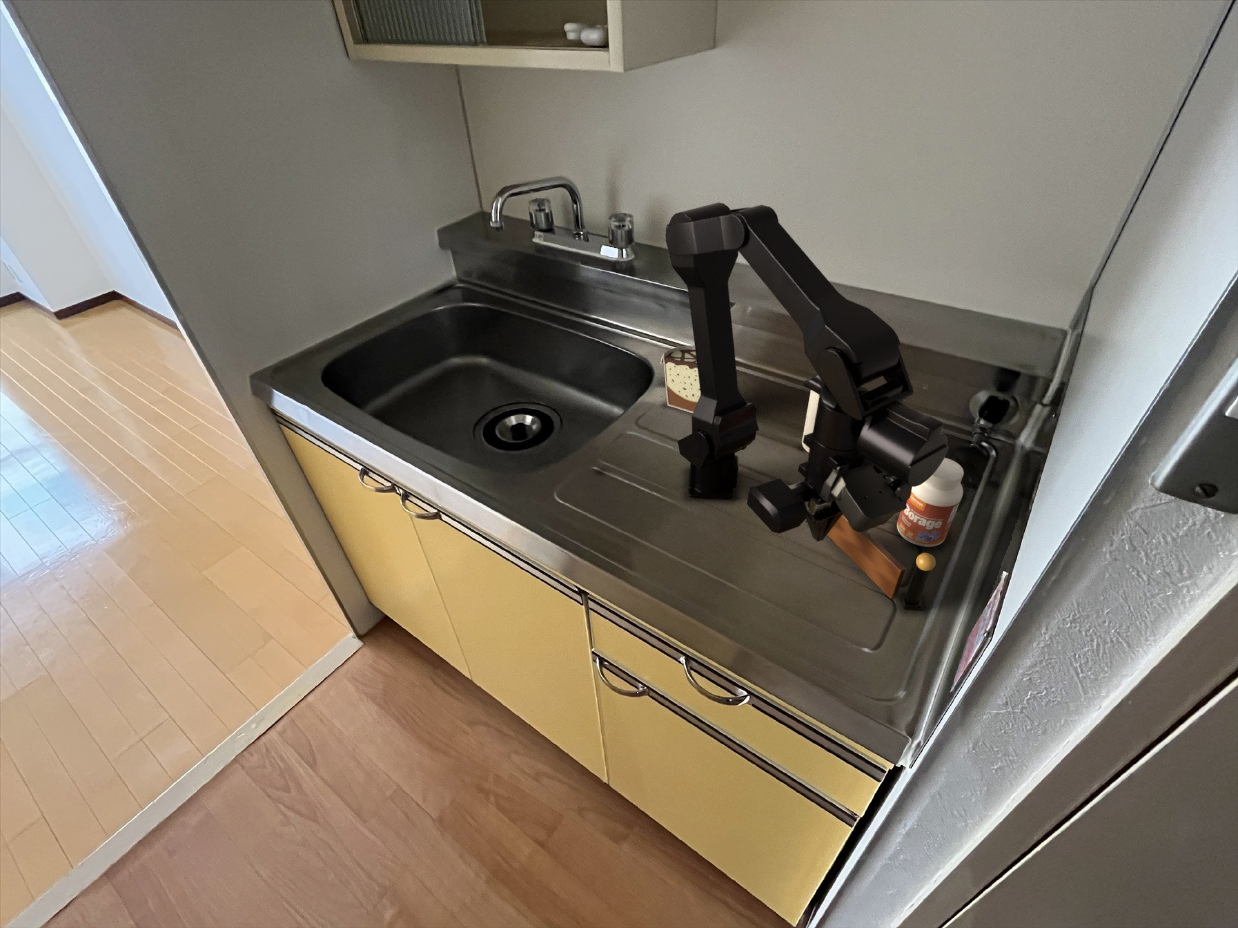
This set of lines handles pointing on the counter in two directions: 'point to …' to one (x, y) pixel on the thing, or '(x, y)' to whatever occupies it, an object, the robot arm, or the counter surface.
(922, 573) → the yellow topped black post
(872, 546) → the door
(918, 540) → the pill bottle
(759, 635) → the counter surface
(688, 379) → the food container
